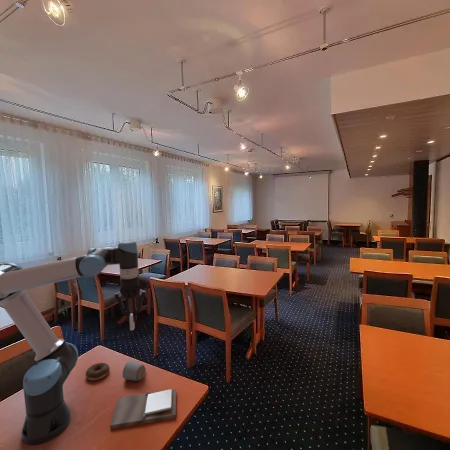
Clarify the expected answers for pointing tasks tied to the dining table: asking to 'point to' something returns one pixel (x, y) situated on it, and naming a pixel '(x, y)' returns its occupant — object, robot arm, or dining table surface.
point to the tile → (158, 402)
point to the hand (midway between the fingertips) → (132, 328)
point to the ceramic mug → (133, 371)
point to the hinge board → (139, 411)
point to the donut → (97, 371)
